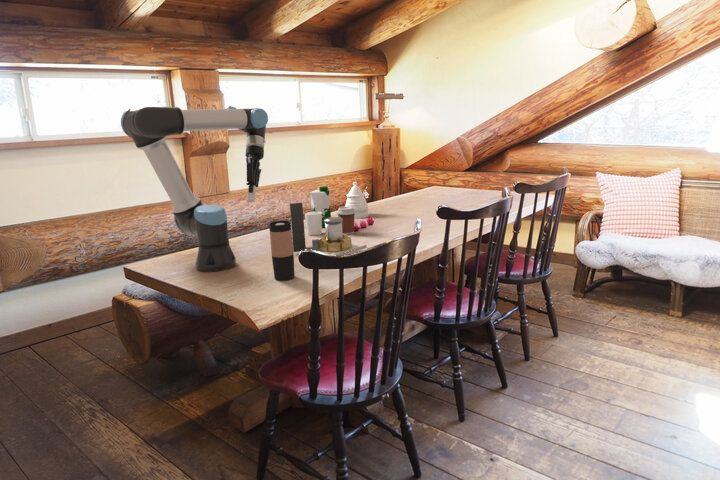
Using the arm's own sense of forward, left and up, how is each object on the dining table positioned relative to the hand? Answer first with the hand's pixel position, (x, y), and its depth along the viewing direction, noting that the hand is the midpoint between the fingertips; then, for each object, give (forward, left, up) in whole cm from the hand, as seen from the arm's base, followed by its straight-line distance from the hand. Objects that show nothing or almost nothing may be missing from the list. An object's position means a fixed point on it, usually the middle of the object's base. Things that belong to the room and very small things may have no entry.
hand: (251, 201), depth 217 cm
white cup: (+38, +6, -23) cm, 45 cm away
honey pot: (+79, +18, -23) cm, 84 cm away
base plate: (+24, -22, -22) cm, 40 cm away
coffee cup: (+48, -6, -23) cm, 53 cm away
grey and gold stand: (+20, -22, -21) cm, 36 cm away
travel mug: (-13, -36, -23) cm, 44 cm away
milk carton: (+51, +15, -23) cm, 58 cm away
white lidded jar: (+24, -23, -22) cm, 40 cm away
